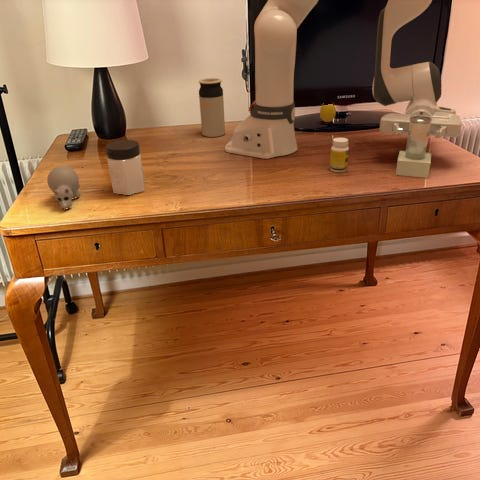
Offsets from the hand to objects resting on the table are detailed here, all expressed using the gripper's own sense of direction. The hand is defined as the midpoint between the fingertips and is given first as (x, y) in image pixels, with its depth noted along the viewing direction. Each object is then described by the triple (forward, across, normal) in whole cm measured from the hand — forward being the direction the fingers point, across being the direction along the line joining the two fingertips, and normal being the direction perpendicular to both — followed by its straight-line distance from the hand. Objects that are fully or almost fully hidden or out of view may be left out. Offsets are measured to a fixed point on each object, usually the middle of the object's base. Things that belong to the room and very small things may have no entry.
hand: (418, 133), depth 117 cm
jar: (+31, -68, +11) cm, 76 cm away
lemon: (-41, -31, +11) cm, 52 cm away
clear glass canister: (-1, 0, +6) cm, 7 cm away
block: (-1, 0, +10) cm, 11 cm away
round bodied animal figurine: (+42, -79, +11) cm, 90 cm away
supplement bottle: (+3, -19, +11) cm, 22 cm away
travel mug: (-19, -66, +11) cm, 69 cm away
